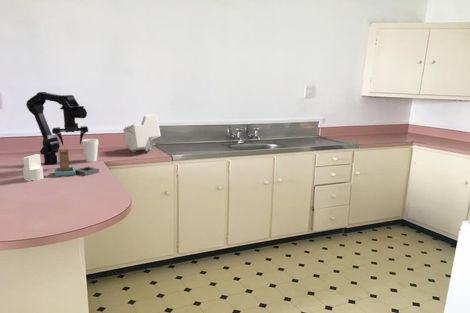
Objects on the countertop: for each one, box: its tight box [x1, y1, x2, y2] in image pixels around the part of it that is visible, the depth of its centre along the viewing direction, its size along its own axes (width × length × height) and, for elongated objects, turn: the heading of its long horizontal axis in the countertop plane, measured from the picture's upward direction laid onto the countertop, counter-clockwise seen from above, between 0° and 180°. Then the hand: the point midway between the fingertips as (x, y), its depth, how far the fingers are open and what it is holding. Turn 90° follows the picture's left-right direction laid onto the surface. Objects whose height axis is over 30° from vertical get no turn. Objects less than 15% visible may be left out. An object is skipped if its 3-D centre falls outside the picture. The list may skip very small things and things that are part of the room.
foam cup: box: [81, 138, 99, 163], centre depth 239 cm, size 10×9×13 cm
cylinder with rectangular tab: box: [22, 153, 44, 181], centre depth 198 cm, size 9×9×12 cm
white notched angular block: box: [122, 113, 162, 153], centre depth 267 cm, size 20×16×25 cm
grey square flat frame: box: [75, 166, 100, 177], centre depth 213 cm, size 9×9×2 cm
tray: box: [54, 166, 76, 178], centre depth 209 cm, size 10×10×2 cm
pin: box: [58, 147, 70, 172], centre depth 207 cm, size 4×4×13 cm
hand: (71, 144), depth 222 cm, fingers open, 9 cm apart
